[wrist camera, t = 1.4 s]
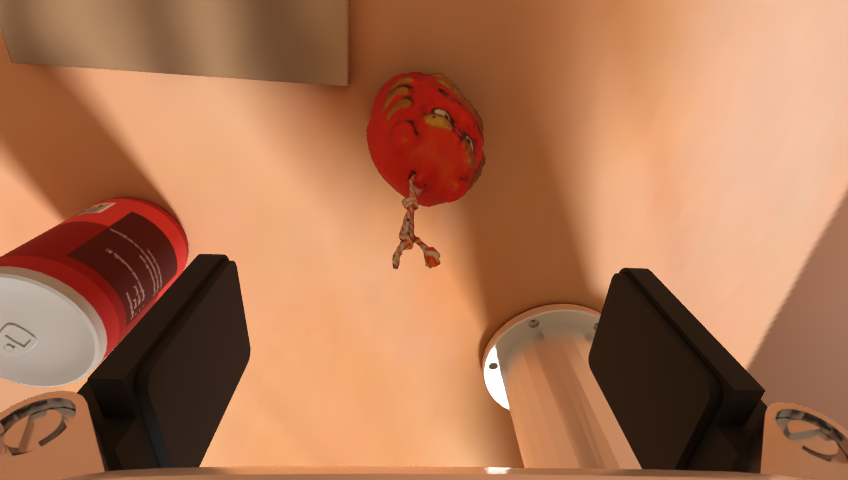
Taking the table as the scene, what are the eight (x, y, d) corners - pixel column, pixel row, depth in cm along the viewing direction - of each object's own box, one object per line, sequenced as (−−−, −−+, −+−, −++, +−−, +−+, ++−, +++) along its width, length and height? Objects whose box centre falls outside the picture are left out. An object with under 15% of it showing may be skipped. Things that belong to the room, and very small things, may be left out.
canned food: (73, 255, 33) (-71, 353, 23) (103, 172, 30) (-47, 244, 20) (171, 300, 35) (77, 408, 25) (208, 227, 32) (118, 316, 22)
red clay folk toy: (499, 124, 29) (572, 208, 16) (431, 197, 32) (446, 325, 18) (413, 44, 27) (415, 64, 13) (347, 130, 29) (293, 220, 16)
